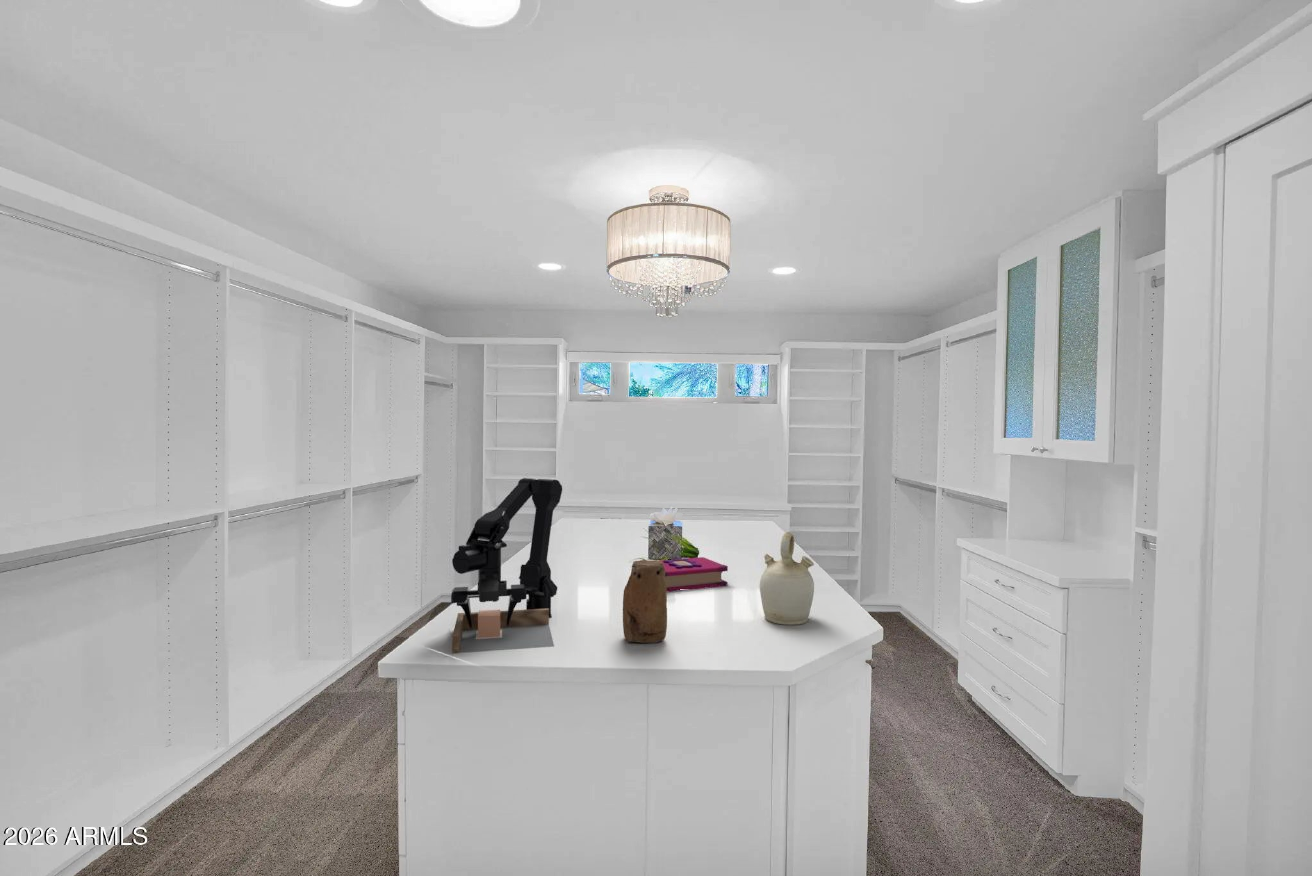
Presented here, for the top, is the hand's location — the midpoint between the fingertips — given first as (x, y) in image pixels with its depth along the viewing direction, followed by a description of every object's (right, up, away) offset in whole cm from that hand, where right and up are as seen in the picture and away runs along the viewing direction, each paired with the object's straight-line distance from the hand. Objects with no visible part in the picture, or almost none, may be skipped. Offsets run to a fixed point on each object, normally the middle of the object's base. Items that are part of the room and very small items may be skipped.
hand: (489, 626), depth 167 cm
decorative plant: (+47, -3, +97) cm, 108 cm away
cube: (0, -2, 0) cm, 2 cm away
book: (+52, -3, +62) cm, 81 cm away
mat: (+4, -2, -2) cm, 5 cm away
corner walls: (+4, -2, -2) cm, 5 cm away
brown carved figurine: (+40, -3, -2) cm, 41 cm away
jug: (+81, -3, +18) cm, 83 cm away
